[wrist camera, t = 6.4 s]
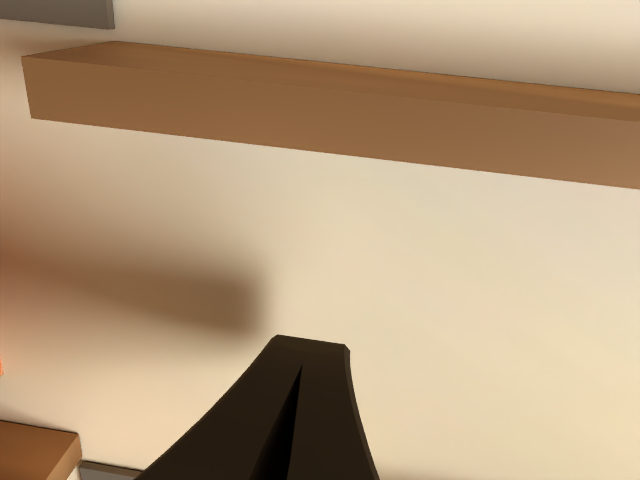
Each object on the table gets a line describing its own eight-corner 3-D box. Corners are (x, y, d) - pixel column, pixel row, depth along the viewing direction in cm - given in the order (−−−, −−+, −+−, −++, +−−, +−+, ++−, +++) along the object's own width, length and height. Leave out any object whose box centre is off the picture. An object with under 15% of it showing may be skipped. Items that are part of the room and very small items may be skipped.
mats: (361, 604, 15) (361, 611, 15) (-83, 519, 16) (-88, 525, 16) (535, -267, 6) (538, -273, 6) (-420, -310, 8) (-440, -317, 7)
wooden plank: (668, 559, 12) (729, 682, 10) (-246, 398, 14) (-363, 472, 12) (934, 125, 8) (1153, 176, 5) (-469, -19, 10) (-724, -23, 8)
